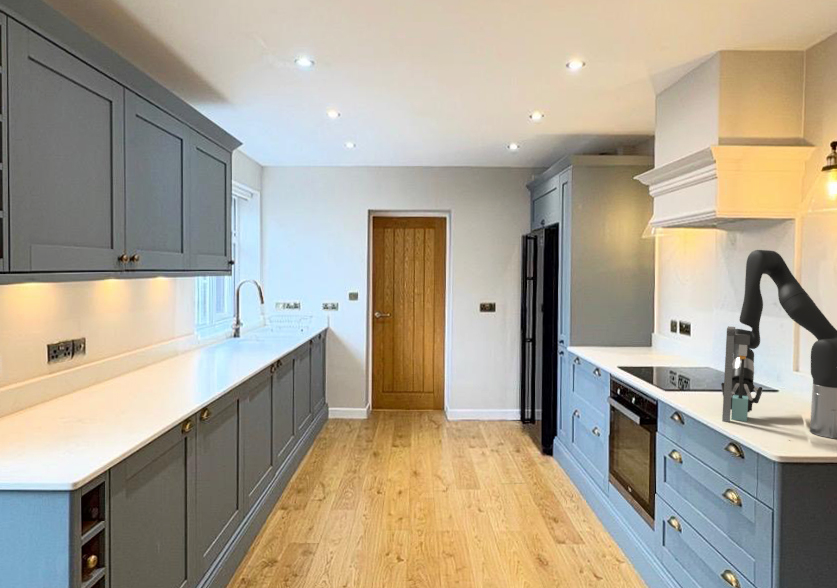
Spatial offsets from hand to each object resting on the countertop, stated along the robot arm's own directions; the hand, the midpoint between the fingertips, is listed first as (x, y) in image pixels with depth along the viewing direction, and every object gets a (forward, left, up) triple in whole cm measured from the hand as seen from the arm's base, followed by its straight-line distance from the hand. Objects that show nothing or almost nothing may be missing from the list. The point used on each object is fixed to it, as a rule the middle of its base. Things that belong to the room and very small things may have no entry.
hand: (739, 409), depth 209 cm
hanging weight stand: (-1, +3, -5) cm, 6 cm away
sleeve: (+1, -1, -4) cm, 4 cm away
